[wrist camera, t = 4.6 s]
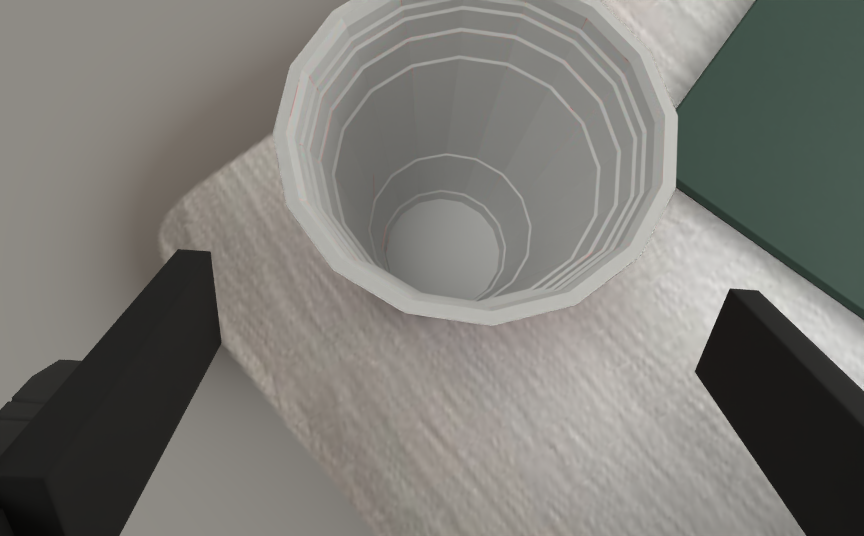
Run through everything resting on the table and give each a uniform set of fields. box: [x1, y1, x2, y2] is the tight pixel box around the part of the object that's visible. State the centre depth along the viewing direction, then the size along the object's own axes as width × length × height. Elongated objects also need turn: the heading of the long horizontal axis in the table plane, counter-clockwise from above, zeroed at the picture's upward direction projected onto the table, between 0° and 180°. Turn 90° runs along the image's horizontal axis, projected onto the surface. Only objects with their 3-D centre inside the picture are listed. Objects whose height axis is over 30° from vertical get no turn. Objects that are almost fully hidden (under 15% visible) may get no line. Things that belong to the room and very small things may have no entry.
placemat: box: [676, 0, 864, 319], centre depth 29 cm, size 16×20×1 cm
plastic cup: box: [273, 0, 678, 326], centre depth 20 cm, size 11×11×12 cm
